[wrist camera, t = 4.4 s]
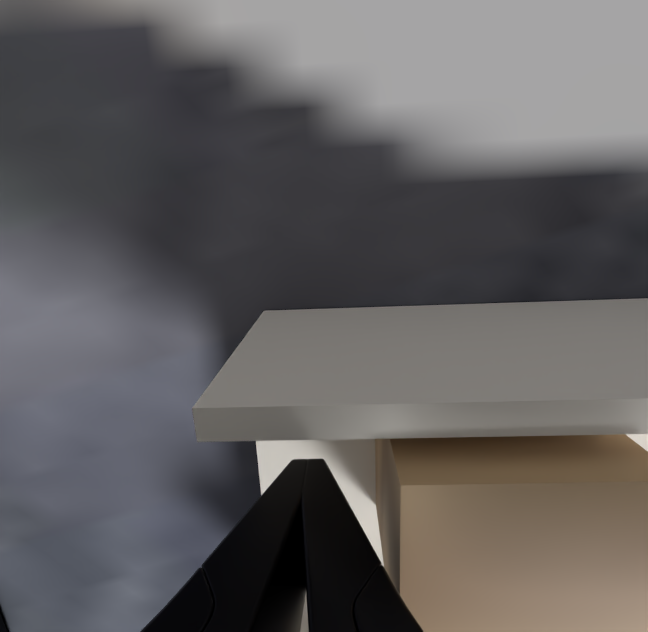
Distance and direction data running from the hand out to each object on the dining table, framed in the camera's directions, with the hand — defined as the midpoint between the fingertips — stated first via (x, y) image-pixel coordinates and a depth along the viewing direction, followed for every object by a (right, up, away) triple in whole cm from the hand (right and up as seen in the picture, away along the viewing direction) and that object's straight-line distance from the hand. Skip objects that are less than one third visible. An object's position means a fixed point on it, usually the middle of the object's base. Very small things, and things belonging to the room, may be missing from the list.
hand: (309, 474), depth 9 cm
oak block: (+4, 0, +1) cm, 4 cm away
